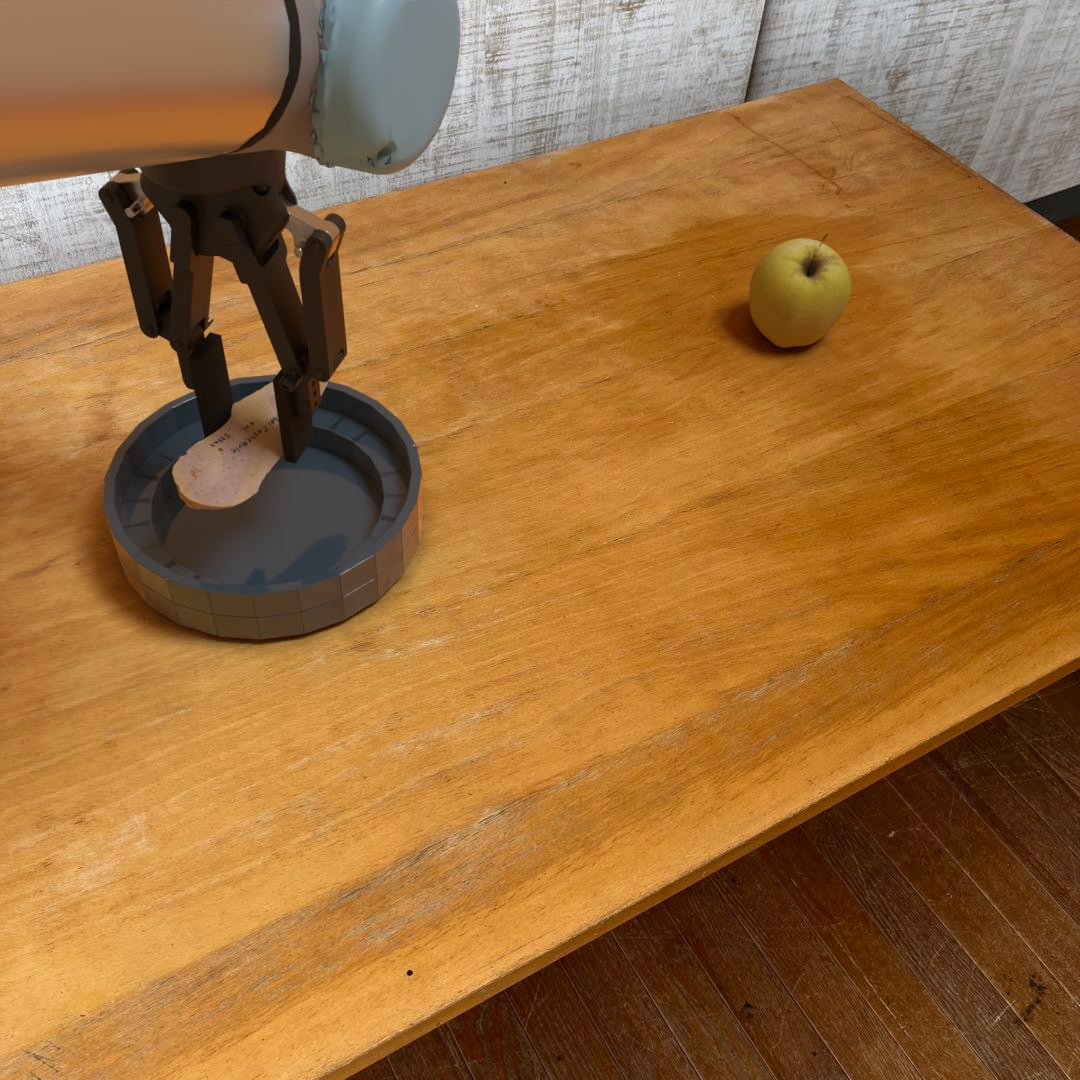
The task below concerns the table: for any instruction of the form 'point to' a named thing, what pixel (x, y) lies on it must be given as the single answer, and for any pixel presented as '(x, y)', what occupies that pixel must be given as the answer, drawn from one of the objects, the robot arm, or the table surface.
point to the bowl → (270, 521)
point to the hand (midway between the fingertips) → (259, 437)
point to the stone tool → (233, 455)
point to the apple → (798, 292)
